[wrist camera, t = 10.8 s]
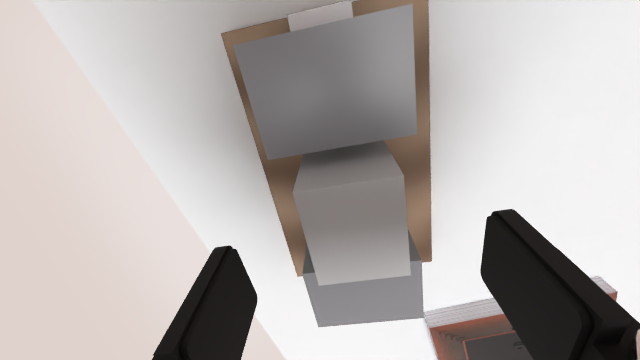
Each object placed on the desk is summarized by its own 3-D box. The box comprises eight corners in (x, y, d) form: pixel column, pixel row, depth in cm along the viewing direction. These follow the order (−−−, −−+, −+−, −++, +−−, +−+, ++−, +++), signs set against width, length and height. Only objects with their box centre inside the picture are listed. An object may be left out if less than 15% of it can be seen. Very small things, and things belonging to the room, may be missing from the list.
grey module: (302, 142, 17) (285, 194, 11) (376, 128, 17) (403, 175, 10) (319, 211, 20) (313, 286, 13) (384, 201, 19) (410, 275, 13)
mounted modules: (262, 47, 15) (232, 45, 10) (386, 18, 14) (412, 3, 10) (321, 271, 22) (318, 327, 18) (404, 262, 21) (423, 317, 17)
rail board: (229, 34, 17) (214, 32, 15) (419, -11, 15) (434, -21, 13) (299, 264, 25) (296, 285, 23) (426, 249, 24) (435, 269, 22)
